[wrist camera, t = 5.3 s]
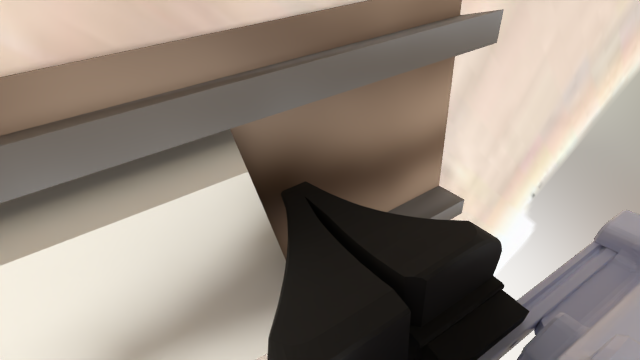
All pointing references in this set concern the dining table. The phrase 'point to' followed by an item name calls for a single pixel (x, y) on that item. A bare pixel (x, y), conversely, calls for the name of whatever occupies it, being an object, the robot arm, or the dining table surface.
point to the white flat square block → (142, 262)
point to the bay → (263, 106)
